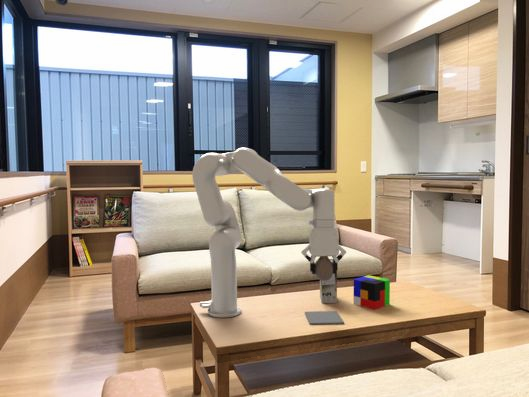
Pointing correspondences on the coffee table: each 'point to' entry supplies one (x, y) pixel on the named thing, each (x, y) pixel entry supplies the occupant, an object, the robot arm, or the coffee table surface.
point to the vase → (323, 268)
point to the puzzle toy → (371, 292)
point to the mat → (323, 317)
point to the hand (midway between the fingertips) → (323, 273)
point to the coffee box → (329, 289)
